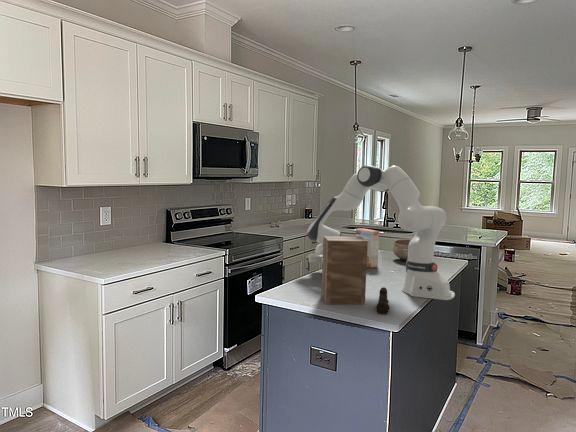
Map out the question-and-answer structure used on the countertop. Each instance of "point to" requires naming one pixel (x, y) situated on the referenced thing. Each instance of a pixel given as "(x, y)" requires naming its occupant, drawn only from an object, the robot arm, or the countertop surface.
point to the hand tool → (382, 302)
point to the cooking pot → (401, 248)
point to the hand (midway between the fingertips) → (331, 261)
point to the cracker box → (370, 245)
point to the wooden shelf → (344, 269)
